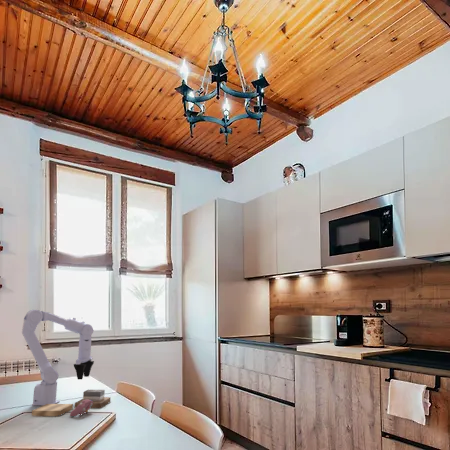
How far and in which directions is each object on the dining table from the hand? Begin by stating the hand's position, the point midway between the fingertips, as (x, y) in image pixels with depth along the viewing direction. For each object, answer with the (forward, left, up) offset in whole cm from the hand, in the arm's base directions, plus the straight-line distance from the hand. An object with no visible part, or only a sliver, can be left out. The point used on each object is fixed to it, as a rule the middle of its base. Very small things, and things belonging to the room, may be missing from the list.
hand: (83, 377), depth 202 cm
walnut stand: (+10, -10, -10) cm, 17 cm away
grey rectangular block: (+10, -10, -8) cm, 16 cm away
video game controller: (+12, -27, -10) cm, 31 cm away
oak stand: (-2, -24, -10) cm, 26 cm away
